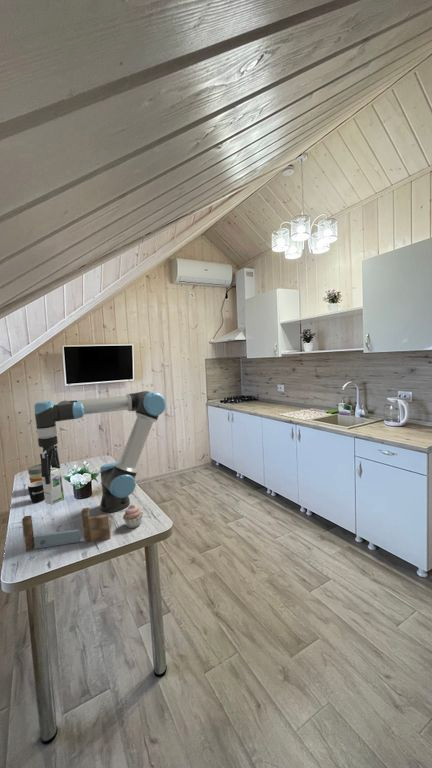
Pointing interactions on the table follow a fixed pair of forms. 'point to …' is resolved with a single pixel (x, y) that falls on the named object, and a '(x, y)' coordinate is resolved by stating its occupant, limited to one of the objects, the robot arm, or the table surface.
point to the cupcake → (133, 516)
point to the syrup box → (54, 488)
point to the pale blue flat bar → (57, 538)
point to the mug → (36, 491)
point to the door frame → (92, 528)
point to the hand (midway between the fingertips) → (53, 486)
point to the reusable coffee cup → (35, 473)
